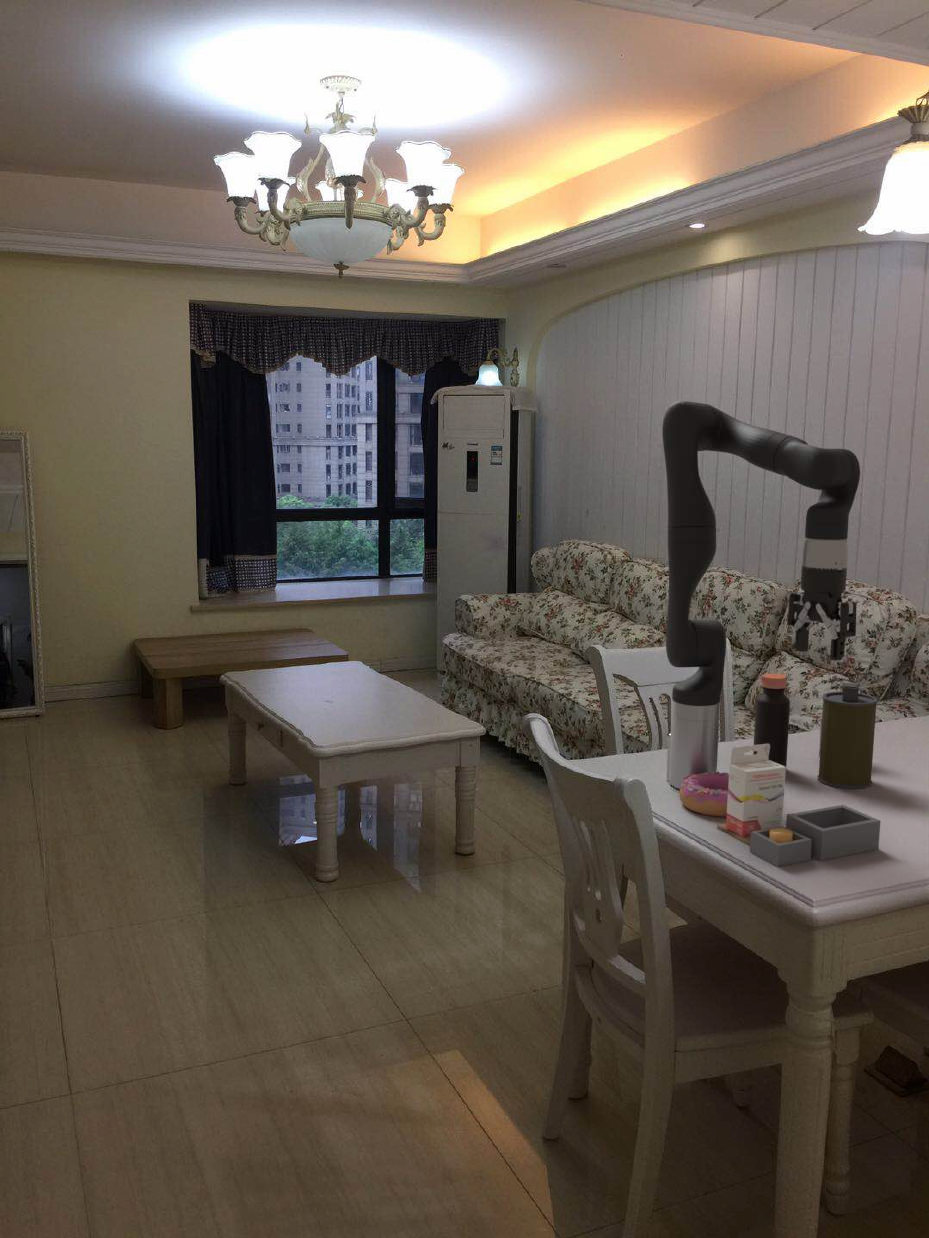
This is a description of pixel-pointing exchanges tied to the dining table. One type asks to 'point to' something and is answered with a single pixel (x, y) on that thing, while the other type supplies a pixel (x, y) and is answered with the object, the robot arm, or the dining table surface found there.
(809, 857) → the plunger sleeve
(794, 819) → the gray open bin
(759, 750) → the ink cartridge box
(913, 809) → the dining table surface
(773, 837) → the egg
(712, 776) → the donut
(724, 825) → the walnut pad
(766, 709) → the black water bottle
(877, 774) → the dining table surface
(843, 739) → the canister
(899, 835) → the dining table surface
